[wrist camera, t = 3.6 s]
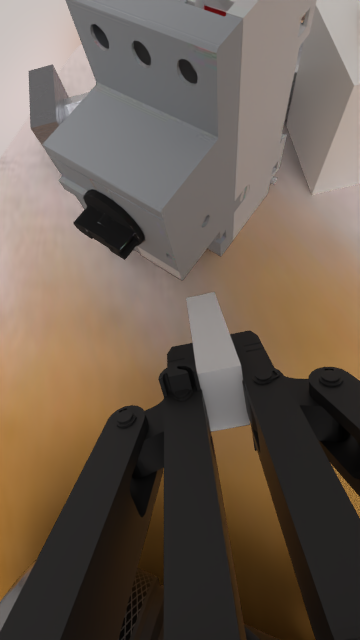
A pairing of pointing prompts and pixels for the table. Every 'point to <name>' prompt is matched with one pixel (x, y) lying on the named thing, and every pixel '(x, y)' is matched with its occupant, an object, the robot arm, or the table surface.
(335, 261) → the table surface
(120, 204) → the circuit breaker
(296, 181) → the table surface
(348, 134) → the mounted module
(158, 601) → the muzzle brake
